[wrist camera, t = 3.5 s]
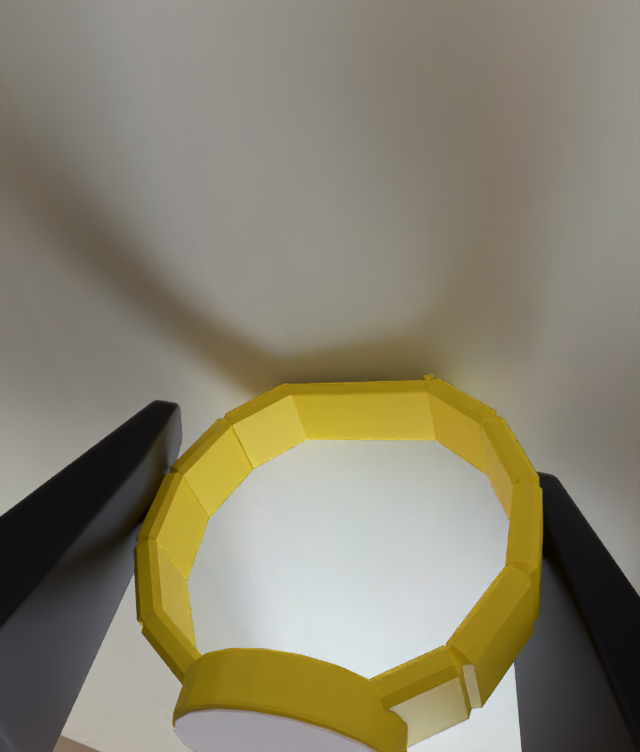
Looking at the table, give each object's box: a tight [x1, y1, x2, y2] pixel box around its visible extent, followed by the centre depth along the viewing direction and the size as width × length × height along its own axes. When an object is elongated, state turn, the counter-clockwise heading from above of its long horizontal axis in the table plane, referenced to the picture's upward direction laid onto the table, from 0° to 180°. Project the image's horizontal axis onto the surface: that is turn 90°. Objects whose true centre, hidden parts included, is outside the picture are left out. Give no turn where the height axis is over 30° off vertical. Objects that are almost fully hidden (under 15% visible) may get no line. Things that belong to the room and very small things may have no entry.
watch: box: [133, 374, 543, 752], centre depth 9 cm, size 6×3×6 cm, turn 104°
